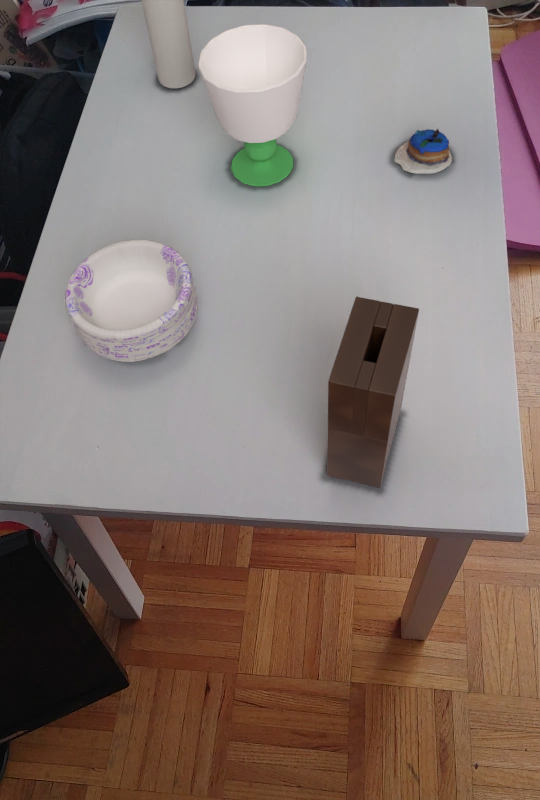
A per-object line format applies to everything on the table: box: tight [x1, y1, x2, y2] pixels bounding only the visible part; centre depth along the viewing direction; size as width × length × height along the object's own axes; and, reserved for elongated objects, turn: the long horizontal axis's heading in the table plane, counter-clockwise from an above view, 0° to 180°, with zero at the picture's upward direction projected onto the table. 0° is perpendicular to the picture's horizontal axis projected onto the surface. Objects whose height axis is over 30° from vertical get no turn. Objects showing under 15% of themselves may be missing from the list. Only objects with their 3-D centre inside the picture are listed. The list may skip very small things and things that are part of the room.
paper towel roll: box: [140, 0, 197, 89], centre depth 102 cm, size 7×6×21 cm
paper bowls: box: [64, 239, 199, 363], centre depth 85 cm, size 15×15×8 cm
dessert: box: [393, 128, 453, 175], centre depth 98 cm, size 8×7×6 cm
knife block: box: [326, 296, 420, 489], centre depth 71 cm, size 6×10×18 cm, turn 163°
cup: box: [198, 23, 308, 187], centre depth 94 cm, size 14×14×16 cm
